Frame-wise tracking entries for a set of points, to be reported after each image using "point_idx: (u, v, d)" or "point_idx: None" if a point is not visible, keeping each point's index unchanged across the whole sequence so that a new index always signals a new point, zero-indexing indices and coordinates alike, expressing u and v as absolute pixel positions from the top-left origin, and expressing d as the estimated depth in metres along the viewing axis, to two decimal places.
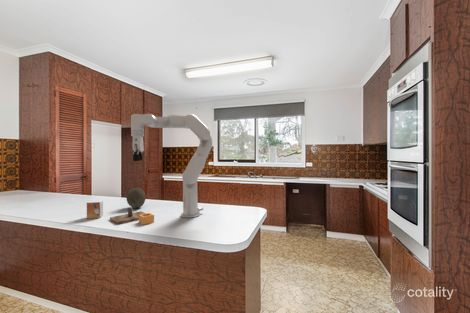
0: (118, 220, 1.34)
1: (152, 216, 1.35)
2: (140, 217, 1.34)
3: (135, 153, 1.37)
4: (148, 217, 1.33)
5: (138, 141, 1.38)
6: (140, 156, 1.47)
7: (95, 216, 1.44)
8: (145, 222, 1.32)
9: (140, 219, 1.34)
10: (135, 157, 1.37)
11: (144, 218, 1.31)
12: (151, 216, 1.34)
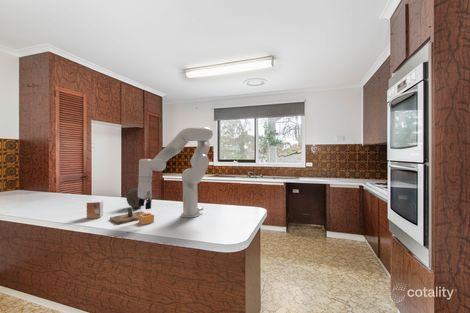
0: (118, 220, 1.34)
1: (152, 216, 1.35)
2: (140, 217, 1.34)
3: None
4: (148, 217, 1.33)
5: None
6: None
7: (95, 216, 1.44)
8: (145, 222, 1.32)
9: (140, 219, 1.34)
10: None
11: (144, 218, 1.31)
12: (151, 216, 1.34)
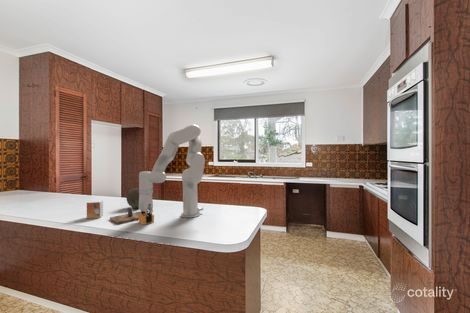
0: (118, 220, 1.34)
1: (152, 216, 1.35)
2: (140, 217, 1.34)
3: None
4: None
5: None
6: None
7: (95, 216, 1.44)
8: (145, 222, 1.32)
9: (140, 219, 1.34)
10: None
11: (144, 218, 1.31)
12: None
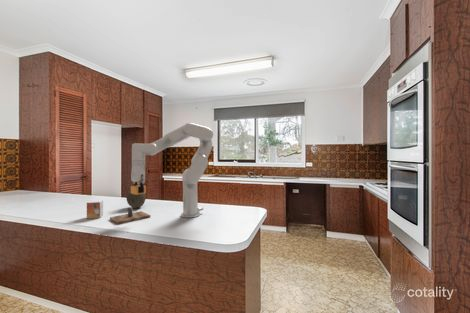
0: (118, 220, 1.34)
1: (144, 187, 1.38)
2: (132, 188, 1.36)
3: None
4: None
5: None
6: None
7: (95, 216, 1.44)
8: (137, 192, 1.34)
9: (132, 190, 1.36)
10: None
11: (136, 188, 1.34)
12: None
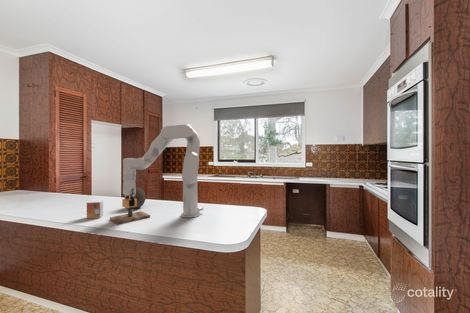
0: (118, 220, 1.34)
1: (135, 200, 1.42)
2: (123, 201, 1.41)
3: None
4: None
5: None
6: None
7: (95, 216, 1.44)
8: (128, 206, 1.39)
9: (123, 203, 1.41)
10: None
11: (127, 202, 1.39)
12: None
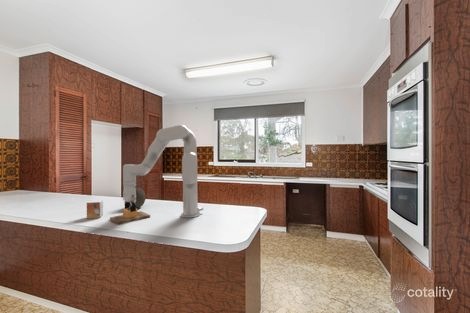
0: (118, 220, 1.34)
1: None
2: (124, 211, 1.41)
3: None
4: None
5: None
6: None
7: (95, 216, 1.44)
8: (128, 216, 1.39)
9: (124, 213, 1.41)
10: None
11: (127, 212, 1.39)
12: None
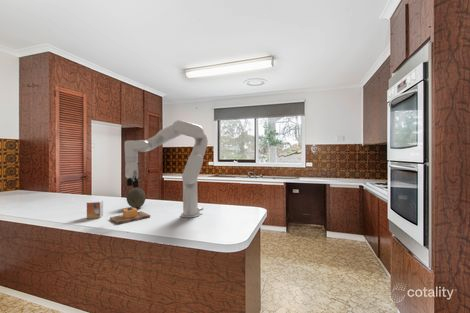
0: (118, 220, 1.34)
1: (135, 210, 1.42)
2: (124, 211, 1.41)
3: None
4: (131, 211, 1.41)
5: None
6: None
7: (95, 216, 1.44)
8: (128, 216, 1.39)
9: (124, 213, 1.41)
10: None
11: (127, 212, 1.39)
12: (134, 210, 1.42)
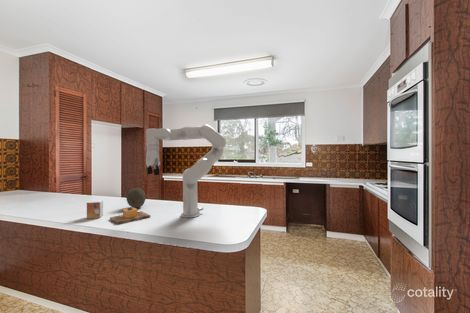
0: (118, 220, 1.34)
1: (135, 210, 1.42)
2: (124, 211, 1.41)
3: None
4: (131, 211, 1.41)
5: None
6: None
7: (95, 216, 1.44)
8: (128, 216, 1.39)
9: (124, 213, 1.41)
10: None
11: (127, 212, 1.39)
12: (134, 210, 1.42)
